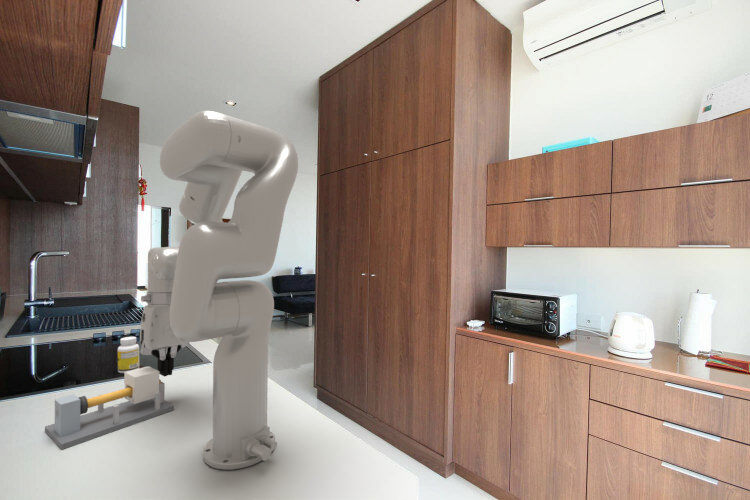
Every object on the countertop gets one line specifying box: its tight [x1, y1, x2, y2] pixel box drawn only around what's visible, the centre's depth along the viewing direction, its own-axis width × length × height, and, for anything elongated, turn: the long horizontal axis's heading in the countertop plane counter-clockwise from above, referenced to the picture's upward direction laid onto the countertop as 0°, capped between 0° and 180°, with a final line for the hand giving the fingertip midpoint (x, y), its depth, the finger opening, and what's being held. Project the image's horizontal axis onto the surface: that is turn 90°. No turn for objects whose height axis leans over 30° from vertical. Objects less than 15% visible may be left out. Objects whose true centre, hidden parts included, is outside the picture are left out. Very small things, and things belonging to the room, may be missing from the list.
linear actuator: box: [44, 378, 175, 451], centre depth 77 cm, size 20×11×7 cm, turn 145°
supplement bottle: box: [117, 336, 140, 374], centre depth 107 cm, size 5×5×10 cm
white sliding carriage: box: [123, 365, 160, 404], centre depth 82 cm, size 5×6×6 cm
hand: (165, 374), depth 86 cm, fingers closed
